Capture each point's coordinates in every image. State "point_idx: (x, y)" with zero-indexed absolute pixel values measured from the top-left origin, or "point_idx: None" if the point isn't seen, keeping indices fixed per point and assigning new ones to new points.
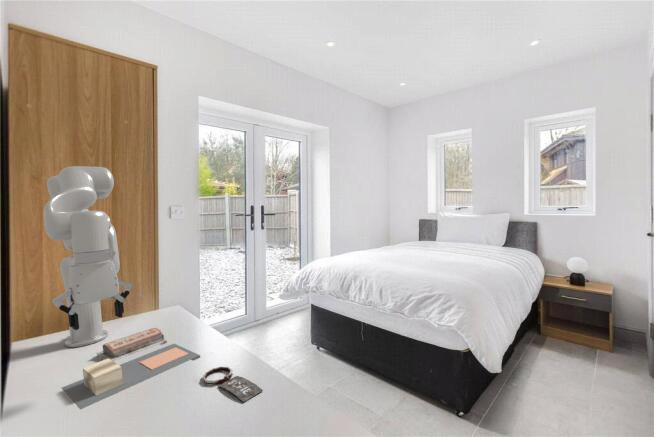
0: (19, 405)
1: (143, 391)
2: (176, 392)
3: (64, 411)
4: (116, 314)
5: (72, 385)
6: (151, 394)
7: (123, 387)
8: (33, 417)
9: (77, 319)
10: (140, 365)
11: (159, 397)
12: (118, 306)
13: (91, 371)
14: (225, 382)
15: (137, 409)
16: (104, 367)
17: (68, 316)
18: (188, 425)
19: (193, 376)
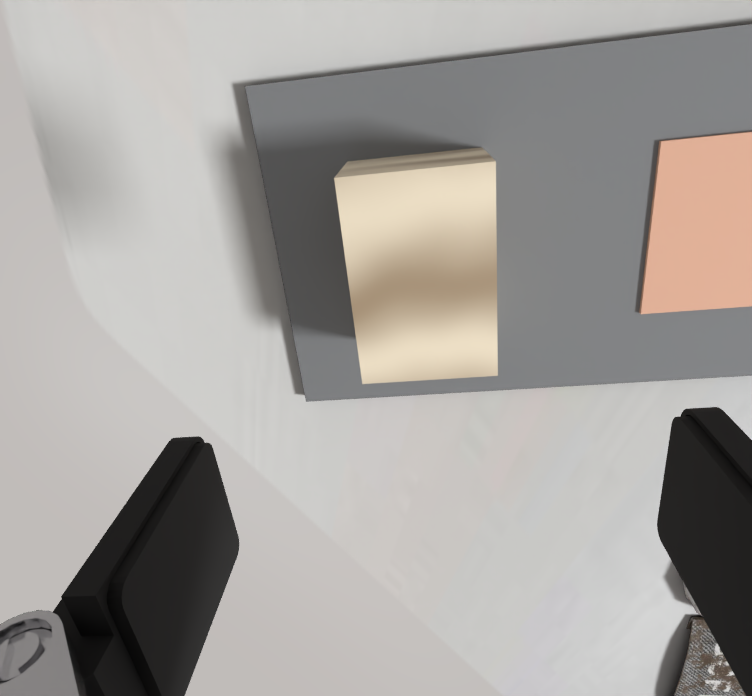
0: (75, 88)
1: (519, 444)
2: (589, 541)
3: (257, 340)
4: (678, 473)
5: (296, 114)
6: (528, 486)
7: None
8: (155, 284)
9: (192, 651)
10: (639, 192)
11: (535, 524)
12: (735, 672)
13: (365, 290)
14: None
15: (454, 530)
16: (432, 297)
17: (64, 610)
18: (513, 679)
19: None
